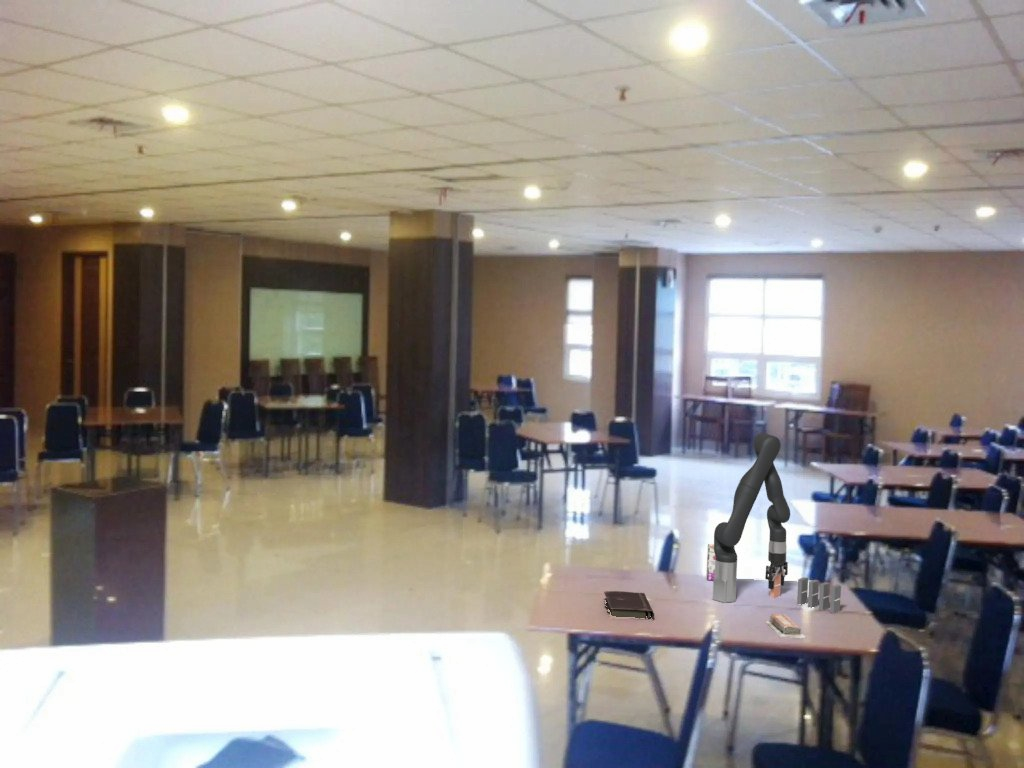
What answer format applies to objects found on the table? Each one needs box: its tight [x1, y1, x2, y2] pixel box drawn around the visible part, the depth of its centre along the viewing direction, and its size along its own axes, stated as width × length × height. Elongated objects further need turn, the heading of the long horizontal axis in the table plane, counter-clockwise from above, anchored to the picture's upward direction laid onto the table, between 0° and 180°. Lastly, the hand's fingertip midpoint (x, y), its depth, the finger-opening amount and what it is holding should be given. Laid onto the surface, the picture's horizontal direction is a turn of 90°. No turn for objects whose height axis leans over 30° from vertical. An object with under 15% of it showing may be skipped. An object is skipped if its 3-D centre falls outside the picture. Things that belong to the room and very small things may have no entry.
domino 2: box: [796, 576, 809, 606], centre depth 406 cm, size 2×5×11 cm, turn 133°
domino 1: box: [769, 573, 781, 599], centre depth 416 cm, size 2×5×11 cm, turn 134°
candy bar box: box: [705, 543, 715, 582], centre depth 441 cm, size 11×5×16 cm, turn 84°
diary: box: [603, 590, 655, 620], centre depth 392 cm, size 19×25×5 cm
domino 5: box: [829, 584, 842, 614], centre depth 396 cm, size 2×5×11 cm, turn 133°
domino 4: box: [818, 581, 831, 612], centre depth 399 cm, size 2×5×11 cm, turn 134°
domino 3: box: [807, 579, 820, 609], centre depth 403 cm, size 2×5×11 cm, turn 134°
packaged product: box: [765, 613, 806, 639], centre depth 370 cm, size 18×5×10 cm
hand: (776, 587), depth 416 cm, fingers open, 8 cm apart
